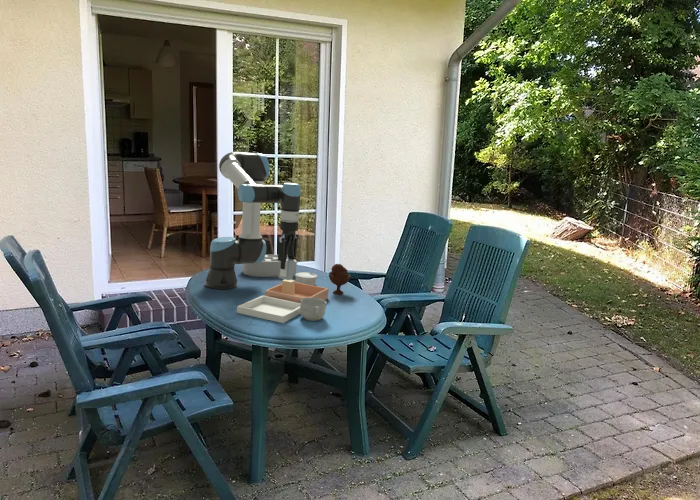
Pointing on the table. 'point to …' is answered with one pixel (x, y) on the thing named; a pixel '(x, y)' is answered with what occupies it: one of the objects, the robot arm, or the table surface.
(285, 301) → the parts tray
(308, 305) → the teacup
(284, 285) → the tall cardboard carton
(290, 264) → the pale grey box block
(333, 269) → the ice cream bowl
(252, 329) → the table surface
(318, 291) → the orange square tray
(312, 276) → the ramekin
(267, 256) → the grey compartment organizer
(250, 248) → the robot arm
